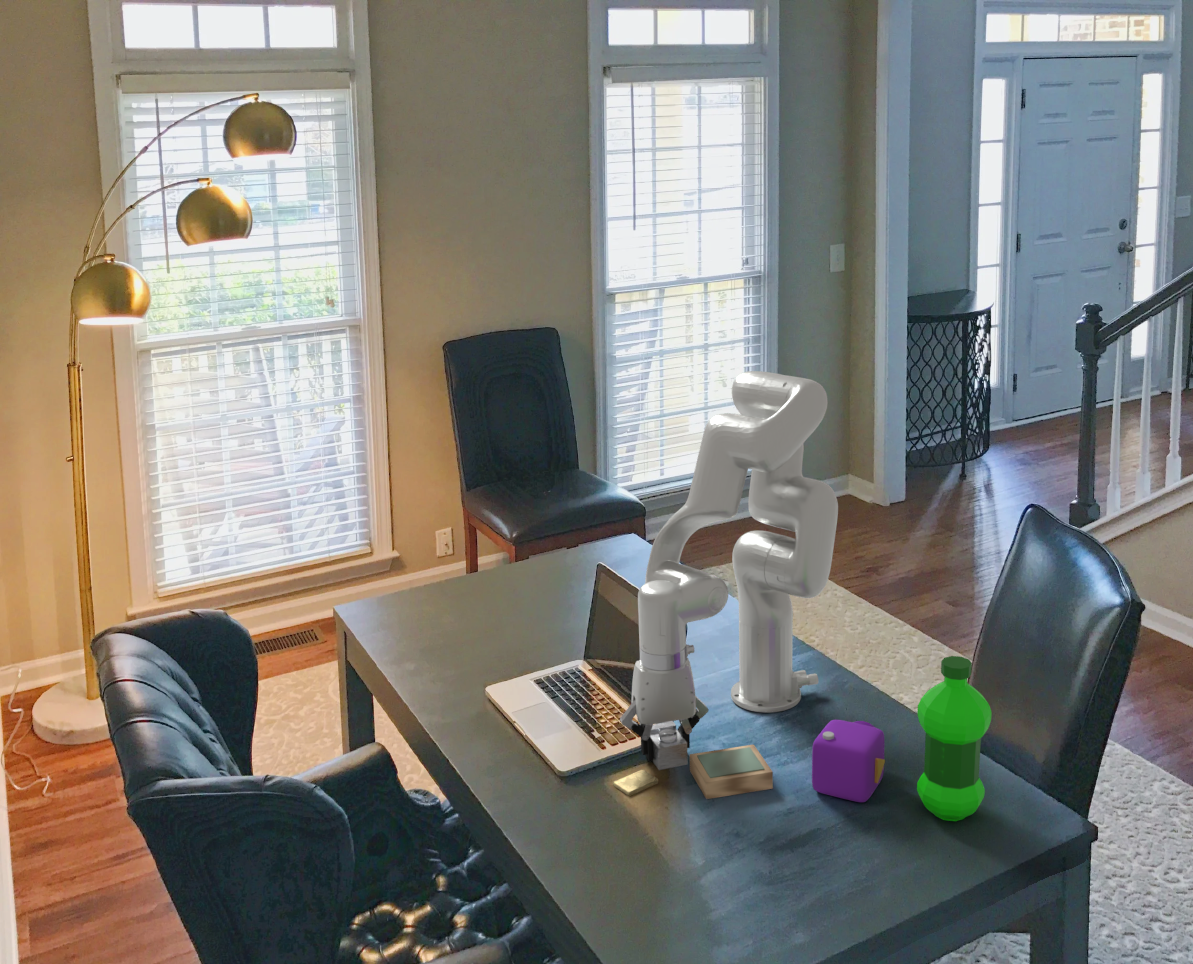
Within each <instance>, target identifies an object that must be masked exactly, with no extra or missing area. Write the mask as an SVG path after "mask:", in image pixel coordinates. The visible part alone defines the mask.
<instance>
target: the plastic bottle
mask: <svg viewBox="0 0 1193 964" xmlns="http://www.w3.org/2000/svg"><path fill="white" fill-rule="evenodd" d="M940 663H941V664H940V673H941V675H942V676H943V677H944V681H941V682H940V683H938V684H936V685H934V686H933V687H931V688H930V689H928V690H927V691H926V692H925V693H924V694H923V696H922V697H921V698H920V701H919V702H918V705H917V717H918V718H917V719H918V722H919V724H920V726H921V727H922V730H923V731H924V732H925V740H924V741H925V743H924V762H923V763H924V765H923V772H922V774H921V775H920V776H919V778H918V780H917V782H916V791H917V794H918V797H919V798H920V800H921V802H922V803H923V806H924V807H925V809H926V810H928V811H929V812H930V813H932V814H933V815H934V816H935V817H937V818H938V819H941V820H943V821H948V822H949V821H950V822H957V821H962V820H965V818H967V817H969V816H971V815H973V814H975V812H977V810H978V808H980V807H979V806H980V805H981V804H982V801H983V800H984V798H985V793H986V789H985V787H984V784H983V781H982V780H981V778H980V760H981V742H982V738H983V737H984V735H985V734H986V733H987V731H988V730H989V728H990V725H991V721H992V715H993V714H992V709H991V707H990V704H989V702H988V701H987V700H986V698H985V697H984V695H983V694H982V693H981V692H980V691H978V690H977V689H976V688H975V687H973V685H971V684H969V683H968V679H969V678H970V677H971V676H972V666H973V663H972V661H971V660H970V659H968V658H966V657H964V656H957V655H956V656H955V655H949V656H946V657H944V658H942V660H941V661H940Z"/></svg>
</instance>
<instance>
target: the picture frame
mask: <svg viewBox="0 0 1193 964" xmlns="http://www.w3.org/2000/svg"><path fill="white" fill-rule="evenodd" d="M688 756H689V772H690V773H691V775H692V777H693V779H694V780H695V782H696V783H697V786H698V787H699V789H700V791H701V792H702V794H703V796H704V798H705V799H706V800H710V799H711V800H712V799H716V798H723V797H728V796H735V795H742V794H746V793H754V792H760V791H767V790H770V789H771V790H773V789H774V787H773V783H774V782H773V780H774V779H773V778H774V774H773V773H774V772H773V770H772V768H771V767H770V766H769V764H768V763H767V761H766V760H765V759H764V757H763V756H762V754H761V753H760V752H759V750H758V748H757V747H756V746H755V745H754V744H747V745H741V746H740V745H739V746H736V747H735V746H734V747H729V748H728V747H727V748H723V749H722V748H721V749H717V750H709V751H708V750H707V751H704V752H703V751H702V752H696V753H690V754H689V755H688Z"/></svg>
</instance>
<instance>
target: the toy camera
mask: <svg viewBox="0 0 1193 964" xmlns="http://www.w3.org/2000/svg"><path fill="white" fill-rule="evenodd" d="M885 740H886V739H885V734H884V731H883V730H882V729H880V728H878V727H875V725H873V724H872V723H870V722H867V721H864V720H857V721H847V720H843V719H832V720H830V721H828V723H827V724H826V725H825V727H823V729H822V730H821V732H820V733H819V734H818V735H817V737H816V738H815V739H814V741H813V743H812V747H811V749H812V750H811V751H812V752H811V785H812V788H813V790H814V791H816V792H817V793H820V794H823V795H828V796H831V797H835V798H838V799H839V798H840V799H842V800H843V799H844V800H846V801H847V800H848V801H852V802H856V803H865V802H867V801H869V799H870V798H871V796H872V795H873V793H874V792H875V790H876V789H877V787H878V785H880V783H881V781H882V779H883V777H884V773H885V772H884V771H885V770H884V769H885V763H886V759H885V747H886V746H885Z"/></svg>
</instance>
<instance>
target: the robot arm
mask: <svg viewBox="0 0 1193 964" xmlns="http://www.w3.org/2000/svg"><path fill="white" fill-rule="evenodd" d="M731 387H732V388H731V396H732V398H731V399H732V401H733V404H734V408H736V410H737V411H738V412H739V413H729V412H727V413H719V414H716V415H714V416H712V417H711V418H709V420H708V421H707V423H706V425H705V428H704V431H703V434H702V437H701V442H700V446H699V450H698V454H697V458H696V459H697V460H696V463H695V468H694V472H693V477H692V479H691V484H690V488H689V494H688V497H687V499H686V502H685V504H683V505H682V507H680V509H678V510H677V511H676V512H675V513H673V514H672V515H671V516H670V518H669V519H668V520H667V521H666V522H665V523H664V525H663V526H662V528H661V529H660V531H659V532H658V533H657V535H656V537H655V539H654V541H653V543H652V547H651V548H650V554H649V559H648V562H647V566H646V573H645V578H644V579H645V581H644V584H642V586H641V587H640V588H639V590H638V593H637V611H638V613H637V614H638V634H639V636H638V638H639V639H638V640H639V642H638V643H639V644H638V645H639V660H636V661H635V664H634V667H633V673H632V675H633V676H632V682H631V704H630V705H629V706H628V708H627V709H626V710H625V712H624V713H623V714H622V715H621V716H620V718H619V721H620V722H621V724H622V726H624V727H626V728H628V729H629V730H631V731H632V732H633V733H635V734H636V735H638V736H639V737H640V749H641V754H642V756H644V755H645V757H646V759H647V761H648V762H653V761H652V760H653V743H652V739H651V737H650V733H651V729H652V726H653V725H654V724H659V723H664V722H670V721H673V722H674V721H679V724H680V725H678V728H677V730H678V732H679V733H680V734H681V736H682V737H683V738H684V739H685V741H686V742H687V749H690V747H691V743H690V742H691V740H690V734H691V733H692V732H693V729H694V727H696V725H697V724H698V723H699V722H700V720H701V719H702V718H703V717H704V716H705V715H706V714H707V713H709V708H708V707H707V705H706V704H705V703H704V702H703V701H702V699H700V698H699V697H698V696H696V688H695V681H694V675H693V671H692V666H691V661H690V660H689V658H688V656H689V655H690V654H694V653H695V646H694V645H693V644H690V645H689V644H687V642H686V638H687V637H686V636H687V635H686V625H687V624H688V623H692V622H693V623H694V622H696V621H701V620H707V619H709V618H713V617H715V616H716V615H717V614H719V613H720V612H721V611H722V610H723V609H724V607H725V606H726V604H727V602H728V599H729V589H728V586H727V583H726V582H725V581H724V579H722V578H721V577H720V576H718V575H716V574H713V573H711V572H707V571H704V570H700V569H698V568H695V567H691V566H689V565H685V564H681V563H680V561H681V558H682V557H681V556H682V552H683V550H684V547H685V545H686V543H687V542H688V540H689V538H690V537H691V536H693V534H694V533H695V532H697V531H698V530H700V529H702V528H703V527H706V526H707V525H710V524H712V523H717V522H721V521H722V522H723V521H726V520H730V519H732V518H734V517H736V516H737V514H738V513H739V512H738V511H739V508H740V504H741V500H742V496H743V491H744V487H745V483H746V479H747V475H748V471H749V470H751V475H750V481H749V482H750V483H749V492H748V505H747V506H748V512H749V514H750V516H751V517H752V518H753V519H754V520H755V521H757V522H760V523H761V524H764V525H768V526H771V527H775V528H779V529H783V530H786V531H789V532H790V531H791V532H794V533H795V538H793V537H790V536H787V535H784V534H780V533H776V532H772V531H767V530H750V531H747V532H745V533H744V534H742V535H741V536H739V538H738V539H737V540H736V542H735V544H734V546H733V549H732V554H731V555H732V557H731V558H732V560H731V561H732V567H733V574H734V577H735V583H736V587H737V588H736V589H737V597H738V599H737V600H738V646H739V647H738V650H739V651H738V654H739V655H738V660H739V661H738V662H739V663H738V664H739V665H738V667H739V672H738V673H739V674H738V675H739V681H737V682H736V683H735V684H733V685H732V687H731V689H730V697H731V700H732V702H733V703H734V704H736V705H737V706H738V707H740V708H742V709H744V710H747V711H750V712H756V713H766V714H767V713H779V712H783V711H787V710H790V709H792V708H793V707H795V706H797V705H798V704H799V703H800V701H801V699H802V691H801V689H802V688H803V686H812V685H813V686H814V685H818V684H819V677H818V674H817V673H810V674H807V672H806V671H807V670H805V669H803V670H797V671H793V634H794V633H793V629H794V628H793V626H794V625H793V620H794V619H793V617H794V614H793V613H794V611H793V609H794V608H793V603H792V599H791V596H792V597H798V598H802V599H813V598H815V597H817V596H819V595H820V594H821V593H822V592H823V590H824V589H825V587H826V585H827V583H828V581H829V577H830V573H831V568H832V561H833V555H834V548H835V547H834V546H835V540H836V531H837V523H838V517H839V516H838V514H839V503H838V498H837V494H836V493H835V491H834V489H833V488H832V487H831V486H830V485H829V484H828V483H827V482H824V481H822V480H819V479H815V478H810V477H805V476H804V475H803V459H804V448H805V447H804V443H805V442H806V440H808V438H809V437H810V436H811V435H812V434H813V433H814V432H815V431H816V429H817V428H818V427H819V426H820V423H822V421H823V419H824V417H825V415H826V412H827V409H828V394H827V392H826V390H825V388H824V387H823V385H821V383H819V382H818V381H815V380H813V379H810V378H805V377H800V376H793V375H792V376H791V375H787V374H785V375H784V374H781V373H775V372H771V371H770V372H768V371H759V370H749V371H748V370H747V371H744V372H741V373H739V374H738V375H737V376H736V377H735V379H734V380H733V383H732V386H731ZM635 716H636V718H637V721H636V720H633V719H634V718H635Z"/></svg>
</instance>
